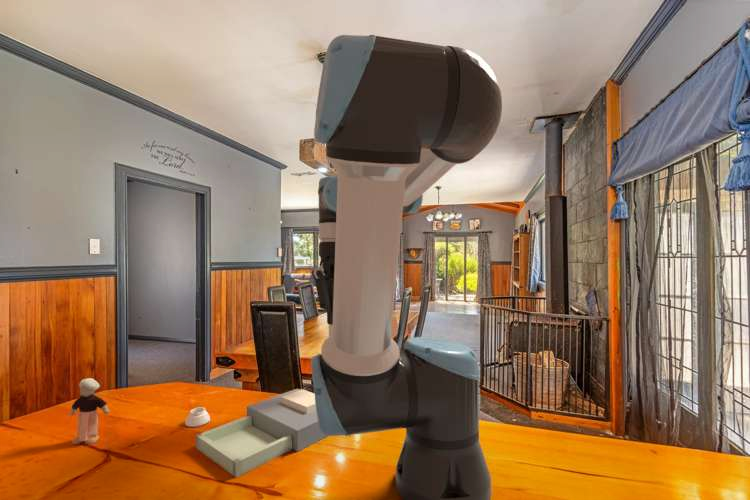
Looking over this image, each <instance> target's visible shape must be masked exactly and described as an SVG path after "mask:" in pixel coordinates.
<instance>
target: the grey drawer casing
mask: <svg viewBox="0 0 750 500" xmlns="http://www.w3.org/2000/svg"><path fill="white" fill-rule="evenodd" d="M299 390H301V389H300V388H296V389H295V388H294V389H292V390H289V391H286V392H283V393H281V394H277V395H275V396H272V397H270V398H269V397H268V398H267V399H263V400H261V401H258V402H255V403H251V404H250V405H249V404H248V405H246V416H249V415H250V416H252V426H254V427H256V428H257V429H259V430H261V431H263V432H265V433H267V434H269V435H271V436H272V437H274V438H276V439H278V440H279V439H281V438H283V437H285V436H287V435H290V436H292V450H293V451H295V452H299V451H302V450H303V449H306V448H308V447H310V446H311V445H314V444H316V443H318V442H319V441H322V440H323V439H325V438H327V437H329V436H328V435H325V434H324V433H323V432H322V431H321V430H320V428H319V424H318V418H317V411H316V410H315V411H312V412H310V413H308V414H306V413H304V412H302V411H299V410H297V409H295V408H292V407H290V406H287V405H285V404H283V403H281V397H282V396H285V395H288V394H291V393H293V392H296V391H299Z"/></svg>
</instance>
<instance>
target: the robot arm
mask: <svg viewBox="0 0 750 500" xmlns="http://www.w3.org/2000/svg"><path fill="white" fill-rule="evenodd" d="M500 88H501V87H500V86H499V82H498V80H497V77H496V75H495V73H494V71H493V70H492V69H491V68H490V66H489V65H488V64H487V62H485V61H484V60H483V59H482V57H480V56H479V55H477V54H476V53H474V52H472V51H470V50H468V49H467V48H466V49H465V48H463V47H458V46H453V45H439V44H433V43H428V42H427V43H425V42H418V41H413V40H405V39H398V38H393V37H385V36H380V35H375V34H370V35H358V34H356V35H354V34H353V35H351V34H350V35H349V34H341V35H337V36H336V37H334V38H333V39H332V40H331V41H330V43H329V44H328V46H327V49H326V52H325V56H324V61H323V65H322V70H321V77H320V81H319V88H318V94H317V95H318V96H317V101H316V110H315V122H314V131H313V136H314V140H315V141H316V142H317V143H320V144H321V145H324V144H325V145H326V146H325V148H326V149H325V157H326V158H325V159H326V160H327V162H329V163H330V165H331V166H332V167H333V169H334V170H335V171H336V173H337V175H336V176H333V175H332V176H331V175H330V176H324V177H321V178H320V179H319V182H318V187H317V188H318V190H317V195H318V240H321V241H320V242H319V243H318V256H319V257H320V262H319V267H317V268H316V269H313V270H311V275H312V277H313V279H314V285H315V288H316V293H317V298H318V304H319V308H320V309H322V310H324V311H326V323H327V325H328V336H327V338H326V339H325V340H324V341H323V342H322V345H321V353H317V354H316V355H313V356H312V357H311V359H310V366H311V378H312V384H313V385H312V386H313V393H314V394H315V403H316V411H317V418H318V424H319V428H320V430H321V431H322V432H323V433H324V434H325V435H328V436H327V437H335V436H342V437H343V436H345V437H348V436H349V437H351V436H353V435H360V434H369V433H374V432H375V433H376V432H383V431H392V430H400V429H405V439H404V441H403V444H402V447H401V449H400V450H401V451H400V453H399V458H398V460H397V463H396V467H395V487H396V490H397V492H398V494H399V496H400V498H402V499H403V500H491V497H492V479H491V472H490V470H489V468H488V467H489V466H488V464H487V462H486V458H485V454H484V451H483V448H482V446H481V443H480V410H479V409H480V402H479V400H480V397H479V395H480V393H479V391H480V389H479V388H480V387H479V382H480V374H479V371H480V370H479V363H478V356H477V354H476V352H475V351H474V350H473V349H472V348H471V347H469V346H467V345H466V344H462V343H459V342H456V341H451V340H447V339H443V338H437V337H428V336H427V337H426V336H422V337H421V336H414V337H409V338H407V339H406V340H405V343H404V345H403V346H404V347H403V348H404V349H400V347H399V346H398V343H397V342H396V341H395V340H394V339H393V338H392V331H393V330H392V329H393V319H394V309H395V308H394V307H395V295H396V289H397V288H396V287H397V274H398V266H399V254H400V244H401V243H400V242H401V232H402V220H403V215H413V214H417V213H418V212H420V209H421V207H422V204H423V200H424V199H423V197H424V196H423V195H424V194H425V193H426V192H427V191H428V190H429V189H430V188H432V186H434V184H435V183H437V182H438V181H439V180H440V179H441V178H443V176H445V175H446V174H447V173H448V172H450V170H452V169H453V167H455V166H456V165H459V164H465V163H467V162H470V161H471V160H474V158H475V157H476V156H478V154H480V153H481V152H482V151H483V150H484V149H485V148H487V147H488V145H489V143H490V142H491V141H492V140H493V138H494V136H495V134H496V133H497V130H498V128H499V126H500V122H501V117H502V111H503V103H502V102H503V100H502V92H501V89H500Z"/></svg>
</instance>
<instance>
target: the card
mask: <svg viewBox="0 0 750 500" xmlns="http://www.w3.org/2000/svg"><path fill="white" fill-rule="evenodd" d="M281 403H283V404H285V405H287V406H290V407H292V408H295V409H297V410H299V411H302V412H304V413H306V414H308V413H310V412H312V411H315V410H316V403H315V394H314V392H311V391H308V390H305V389H304V388H302V389H300V390H299V391H296V392H293V393H291V394H288V395H285V396H282V397H281Z"/></svg>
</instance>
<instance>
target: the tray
mask: <svg viewBox="0 0 750 500" xmlns="http://www.w3.org/2000/svg"><path fill="white" fill-rule="evenodd" d="M195 449H196V450H198V451H199V452H200V453H202V454H203V455H204V456H206V457H207V458H209V459H210V460H212V461H213V462H214V463H215V464H217V465H218V466H220V468H222V469H223V470H225V471H226V472H228V473H229V474H230V475H232V476H233V477H234V478H239V477H240V476H242V475H244V474H246V473H248V472H249V471H252V470H254V469H256V468H258V467H260V466H262V465H264V464H266V463H268V462H269V461H271V460H274V459H276V458H278V457H280V456H281V455H284V454H286V453H288V452H289V451H292V450H293V449H292V436H290V435H287V436H285V437H283V438H281V439H279V440H278V439H276V438H274V437H272V436H271V435H269V434H267V433H265V432H263V431H261V430H259V429H257V428H256V427H254V426H252V416H250V415H249V416H247V415H246V416H244V417H241V418H239V419H238V418H237V419H235V420H233V421H231V422H228V423H225V424H222V425H220V426H217V427H215V428H212V429H209V430H206V431H203V432H200V433H198V434H195Z"/></svg>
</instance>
